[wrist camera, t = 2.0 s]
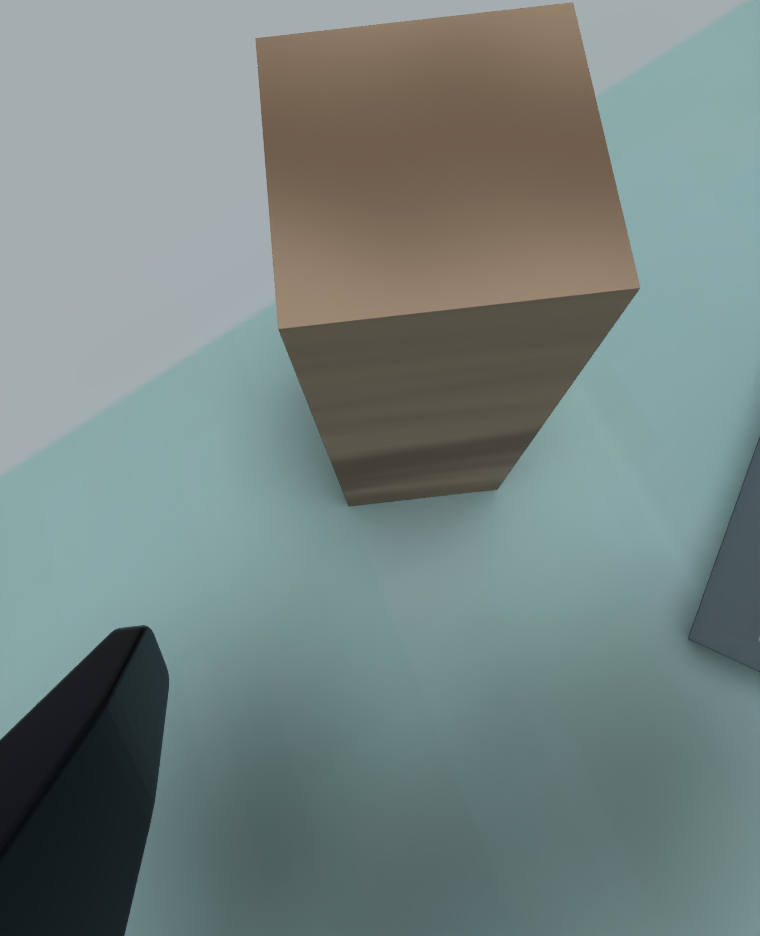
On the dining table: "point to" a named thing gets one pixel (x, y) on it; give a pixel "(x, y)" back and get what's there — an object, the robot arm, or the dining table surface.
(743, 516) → the grey base block
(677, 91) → the dining table surface
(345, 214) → the walnut pillar
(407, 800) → the dining table surface
